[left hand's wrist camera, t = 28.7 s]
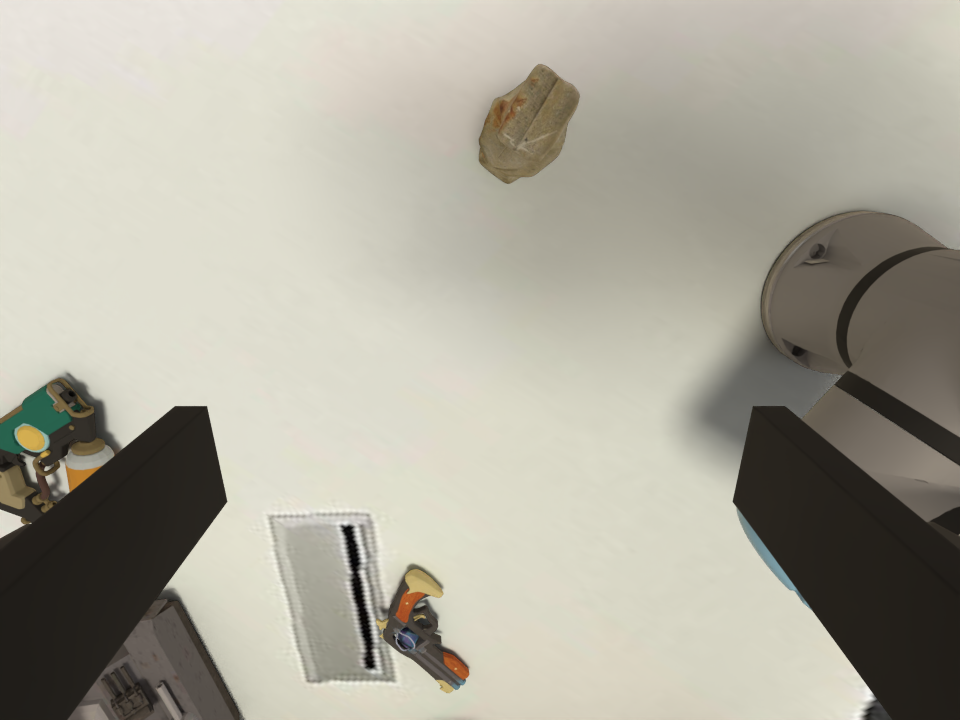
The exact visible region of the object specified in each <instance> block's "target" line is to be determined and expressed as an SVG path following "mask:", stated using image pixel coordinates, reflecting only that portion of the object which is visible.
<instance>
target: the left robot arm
mask: <svg viewBox="0 0 960 720" xmlns="http://www.w3.org/2000/svg"><path fill="white" fill-rule="evenodd" d="M761 313H762V320H763V325H764V328H765V331H766V333H767V335H768V337H769V339H770V340H771V342H772V343H773V345H774V346H775V347H776V348H777V349H778V350H779V351H780V352H781V353H782V354H784V355H785V356H787V357H788V358H790V359H791V360H793V361H794V362H796V363H797V364H799V365H801V366H803V367H806V368H808V369H811V370H815V371H819V372H824V373H831V374H839V375H843V376H842V377H841V378H840V379H839V380H838V381H837V382H836V384H834V385H833V386H832V387H831V388H830V389H829V390H828V391H827V393H826V394H825V395H824V396H823V397H822V398H821V399H820V400H819V401H818V402H817V403H816V404H815V405H814V406H813V407H812V409H811V410H810V411H809V412H808V413H807V414H806V415H805V416H804V417H803V418H802V419H800V418H799V417H797V416H796V415H795V414H794V413H793V412H791V411H790V410H789V409H788V408H786V407H785V406H753V409H752V413H751V418H750V423H749V428H748V432H747V437H746V442H745V446H744V451H743V456H742V460H741V465H740V470H739V474H738V479H737V484H736V488H735V493H734V498H733V503H734V504H735V505H736V507H737V514H738V517H739V520H740V523H741V525H742V528H743V530H744V532H745V534H746V535H747V537H748V539H749V541H750V542H751V544H752V545H753V547H754V548H755V550H756V551H757V553H758V554H759V556H760V557H761V558H762V560H763V561H764V562H765V563H766V565H767V566H768V567H769V568H770V570H771V571H772V572H773V573H774V574H775V575H776V577H777V578H778V579H779V580H780V581H781V582H782V583H783V584H784V585H785V586H786V587H787V588H788V589H789V590H793V591H795V592H796V594H797V595H798V596H799V598H800V599H801V601H802V602H803V603H804V604H805V605H806V606H807V607H809V608H810V609H811V610H812V611H813V612H814V613H815V615H816V616H817V617H818V619H819V620H820V622H821V623H822V624H823V626H824V627H825V628H826V630H827V631H828V632H829V634H830V635H831V637H832V638H833V639H834V641H835V642H836V643H837V645H838V646H839V647H840V649H841V650H842V652H843V653H844V654H845V656H846V657H847V658H848V660H849V661H850V662H851V664H852V665H853V667H854V668H855V669H856V671H857V672H858V673H859V675H860V676H861V677H862V679H863V680H864V682H865V683H866V684H867V686H868V687H869V688H870V690H871V691H872V693H873V694H874V695H875V697H876V698H877V699H878V701H879V702H880V703H881V705H882V706H883V708H884V709H885V710H886V712H887V713H888V714H889V716H890V717H891V718H892V720H960V251H959V250H953V249H948V248H947V247H945V246H944V245H943V244H941V243H940V242H939V241H937V240H936V239H934V238H933V237H932V236H930V235H929V234H928V233H926V232H925V231H923V230H922V229H921V228H920V227H918V226H917V225H915V224H913V223H912V222H910V221H908V220H906V219H904V218H901V217H898V216H895V215H890V214H885V213H878V212H869V211H857V212H849V213H844V214H840V215H837V216H833V217H831V218H828V219H826V220H824V221H821V222H819V223H817V224H816V225H814V226H812V227H811V228H809V229H808V230H806V231H805V232H803V233H802V234H801V235H800V236H798V237H797V238H796V239H795V240H794V241H793V242H792V243H791V244H790V245H789V246H788V247H787V248H786V249H785V250H784V251H783V253H782V254H781V255H780V257H779V258H778V259H777V261H776V263H775V264H774V266H773V267H772V269H771V271H770V273H769V276H768V278H767V281H766V283H765V287H764V290H763V295H762V304H761ZM841 389H842V390H841ZM844 391H845V392H844ZM846 392H847V393H846ZM849 394H850V395H849ZM852 396H853V397H852ZM854 397H855V398H856V399H855V398H854ZM857 399H858V400H859V401H858V400H857ZM860 401H861V402H860ZM863 403H864V404H863ZM866 405H867V406H866ZM868 406H869V407H870V408H869V407H868ZM871 408H872V409H873V410H872V409H871ZM874 410H875V411H876V412H875V411H874ZM877 412H878V413H877ZM880 414H881V415H880ZM883 416H884V417H883ZM886 418H887V419H886ZM888 419H889V420H890V421H889V420H888ZM891 421H892V422H891ZM894 423H895V424H894ZM896 424H897V425H898V426H897V425H896ZM899 426H900V427H901V428H900V427H899ZM902 428H903V429H904V430H903V429H902ZM905 430H906V431H907V432H906V431H905ZM908 432H909V433H908ZM911 434H912V435H911ZM914 436H915V437H914ZM917 438H918V439H917ZM919 439H920V440H921V441H920V440H919ZM922 441H923V442H924V443H923V442H922ZM925 443H926V444H925ZM928 445H929V446H928ZM931 447H932V448H931ZM934 449H935V450H934ZM937 451H938V452H937ZM954 462H955V463H954ZM226 503H227V498H226V493H225V488H224V484H223V479H222V474H221V470H220V465H219V460H218V456H217V451H216V446H215V442H214V437H213V432H212V428H211V423H210V418H209V413H208V409H207V406H175V407H174V408H172V409H171V410H170V411H169V412H167V413H166V414H165V415H164V416H163V417H161V418H160V419H159V420H158V421H156V422H155V423H154V424H153V425H152V426H150V427H149V428H148V429H147V430H145V431H144V432H143V433H142V434H141V435H139V436H138V437H137V438H136V439H134V440H133V441H132V442H131V443H130V444H128V445H127V446H126V447H125V448H123V449H122V450H121V451H120V452H119V453H117V454H116V455H115V456H114V457H112V458H111V459H110V460H109V461H108V462H106V463H105V464H104V465H103V466H101V467H100V468H99V469H98V470H97V471H95V472H94V473H93V474H92V475H90V476H89V477H88V478H87V479H86V480H84V481H83V482H82V483H81V484H79V485H78V486H77V487H76V488H75V489H73V490H72V491H71V492H70V493H68V494H67V495H66V496H65V497H64V498H62V499H61V500H60V501H59V502H57V503H56V504H55V505H54V506H53V507H51V508H50V509H49V510H48V511H46V512H45V513H44V514H43V515H42V516H40V517H39V518H38V519H37V520H36V521H34V522H33V523H32V524H26V525H24V526H22V527H20V528H19V529H17V530H15V531H13V532H11V533H9V534H7V535H6V536H4V537H2V538H0V720H68V718H69V717H70V716H71V714H72V713H73V712H74V710H75V709H76V708H77V706H78V705H79V703H80V702H81V701H82V699H83V698H84V697H85V695H86V694H87V693H88V691H89V690H90V688H91V687H92V686H93V684H94V683H95V682H96V680H97V679H98V677H99V676H100V675H101V673H102V672H103V671H104V669H105V668H106V667H107V665H108V664H109V662H110V661H111V660H112V658H113V657H114V656H115V654H116V653H117V652H118V650H119V649H120V647H121V646H122V645H123V643H124V642H125V641H126V639H127V638H128V637H129V635H130V634H131V632H132V631H133V630H134V628H135V627H136V626H137V624H138V623H139V622H140V620H141V619H142V617H143V616H144V615H145V613H146V612H147V611H148V609H149V608H150V607H151V605H152V604H153V602H154V601H155V600H156V598H157V597H158V596H159V594H160V593H161V591H162V590H163V589H164V587H165V586H166V585H167V583H168V582H169V581H170V579H171V578H172V576H173V575H174V574H175V572H176V571H177V570H178V568H179V567H180V566H181V564H182V563H183V561H184V560H185V559H186V557H187V556H188V555H189V553H190V552H191V551H192V549H193V548H194V546H195V545H196V544H197V542H198V541H199V540H200V538H201V537H202V536H203V534H204V533H205V531H206V530H207V529H208V527H209V526H210V525H211V523H212V522H213V520H214V519H215V518H216V516H217V515H218V514H219V512H220V511H221V510H222V508H223V507H224V505H225V504H226Z"/></svg>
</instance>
